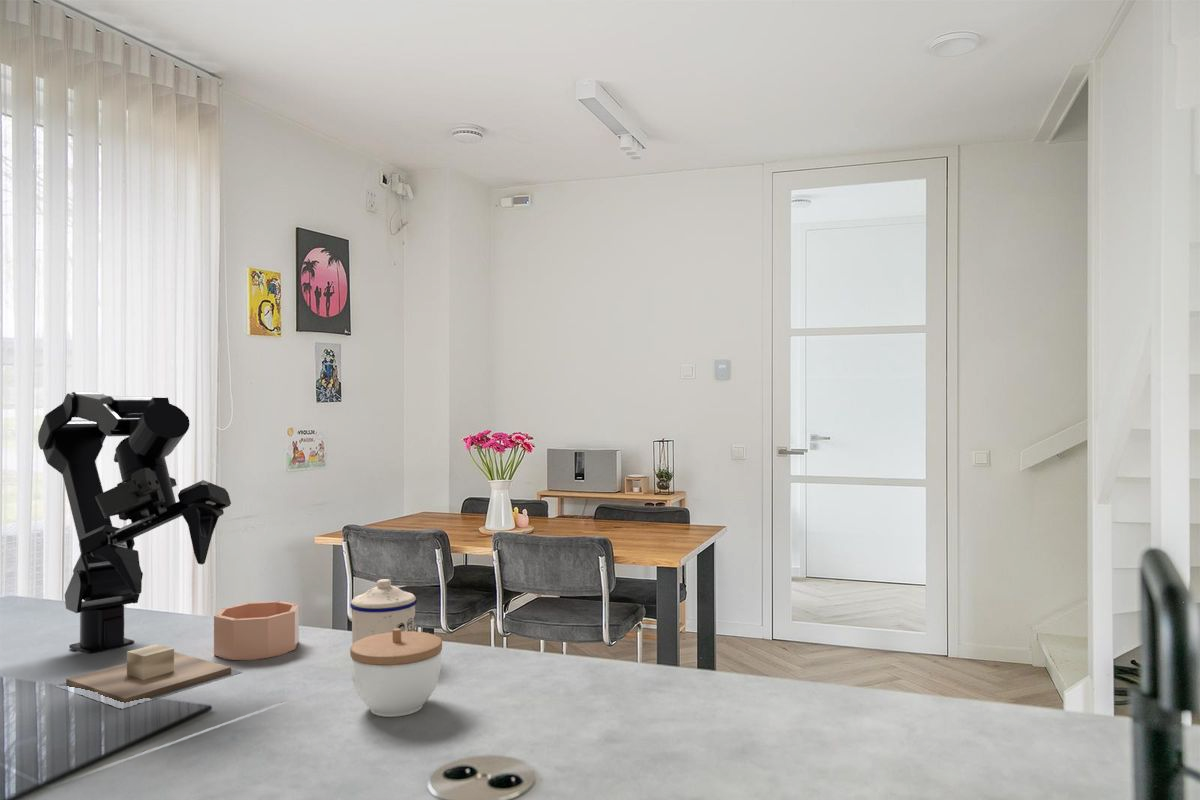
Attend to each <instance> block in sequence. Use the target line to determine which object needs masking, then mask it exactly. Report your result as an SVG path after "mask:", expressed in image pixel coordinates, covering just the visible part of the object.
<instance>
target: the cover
mask: <svg viewBox="0 0 1200 800" xmlns="http://www.w3.org/2000/svg"><path fill="white" fill-rule="evenodd" d="M231 669H232V666H228V665H225V664H221V663H217V662H213V661H210V660H206V659H201V658H199V657H194V656H192V655H191V656H190V655H187V654H184V653H183V654H182V653H179V652H176V651H175V648H173V647H170V646H166V645H163V644H162V645H161V644H158V643H156V644H153V645H148V646H144V647H141V648H136V649H132V650H129V651H126V662H125V663H122V664H118V665H115V666H111V667H106V668H104V669H99V670H95V671H91V672H88V673H84V674H79V675H76V676H72V677H71V676H70V677H68V678H66V680H65V683H66V685H68V686H70V687H75V688H81V689H85V690H90V691H93V692H98V694H100V695H103V696H105V697H109V698H112V699H114V700H117V701H120V702H124V703H126V702H130V701H134V700H139V699H143V698H151V697H154V696H157V695H161V694H164V693H167V692H170V691H174V690H177V689H180V688H184V687H187V686H190V685H194V684H197V683H200V682H203V681H207V680H210V679H213V678H217V677H220V676H223V675H227V674H230V673H231Z"/></svg>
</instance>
